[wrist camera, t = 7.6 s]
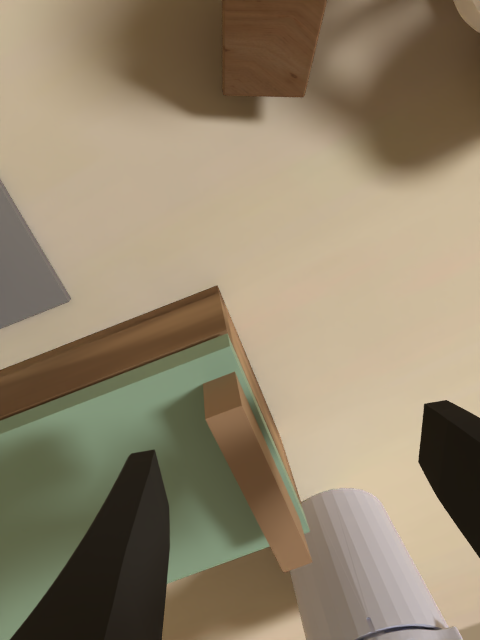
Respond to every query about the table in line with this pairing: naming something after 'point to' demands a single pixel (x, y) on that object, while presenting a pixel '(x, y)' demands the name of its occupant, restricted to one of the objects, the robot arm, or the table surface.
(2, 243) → the mat
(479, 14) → the wheeled car silhouette
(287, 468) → the toolbox
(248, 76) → the wooden block set
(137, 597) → the robot arm
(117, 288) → the table surface
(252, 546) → the toolbox lid
